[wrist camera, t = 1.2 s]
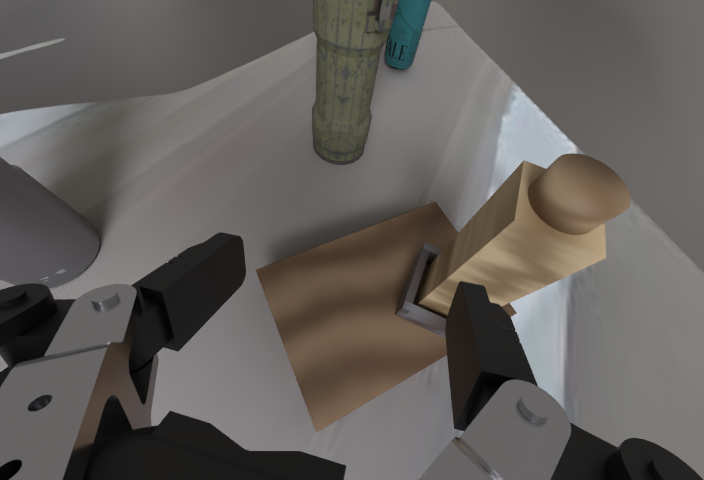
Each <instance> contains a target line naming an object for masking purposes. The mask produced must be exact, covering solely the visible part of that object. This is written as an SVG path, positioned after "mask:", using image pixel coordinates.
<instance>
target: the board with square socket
mask: <svg viewBox="0 0 704 480" xmlns="http://www.w3.org/2000/svg"><path fill="white" fill-rule="evenodd" d="M457 234H458V232H457V231H456V229H455V228H454V227H453V225H452V224H451V223H450V221H449V220H448V218H447V217H446V216H445V214H444V213H443V212H442V210H441V209H440V208H439V206H438V205H437V203H436V202H434V203H432V204H429V205H426V206H424V207H421V208H418V209H416V210H413V211H410V212H408V213H405V214H402V215H400V216H397V217H395V218H392V219H389V220H387V221H384V222H381V223H379V224H376V225H373V226H371V227H368V228H365V229H363V230H360V231H358V232H355V233H352V234H350V235H347V236H344V237H342V238H339V239H336V240H334V241H331V242H328V243H326V244H323V245H321V246H318V247H315V248H313V249H310V250H307V251H305V252H302V253H299V254H297V255H294V256H291V257H289V258H286V259H284V260H281V261H278V262H276V263H273V264H270V265H268V266H265V267H262V268H260V269H257V270H256V272H257V274H258V277H259V280H260V282H261V285H262V288H263V291H264V293H265V296H266V299H267V301H268V304H269V307H270V309H271V312H272V315H273V317H274V320H275V323H276V325H277V328H278V331H279V333H280V336H281V339H282V342H283V344H284V347H285V350H286V352H287V355H288V358H289V360H290V363H291V366H292V368H293V371H294V374H295V376H296V379H297V382H298V384H299V387H300V390H301V393H302V395H303V398H304V401H305V403H306V406H307V409H308V411H309V414H310V417H311V419H312V422H313V425H314V427H315V430H316V432H318V431H320V430H321V429H323V428H325V427H326V426H328V425H330V424H331V423H333V422H335V421H337V420H338V419H340V418H342V417H343V416H345V415H347V414H348V413H350V412H352V411H353V410H355V409H357V408H358V407H360V406H362V405H363V404H365V403H367V402H368V401H370V400H372V399H373V398H375V397H377V396H378V395H380V394H382V393H383V392H385V391H387V390H389V389H390V388H392V387H394V386H395V385H397V384H399V383H400V382H402V381H404V380H405V379H407V378H409V377H410V376H412V375H414V374H415V373H417V372H419V371H420V370H422V369H424V368H425V367H427V366H429V365H430V364H432V363H434V362H435V361H437V360H439V359H441V358H442V357H444V356H446V355H447V347H446V337H445V326H446V319H445V318H443V317H441V316H438V315H436V314H434V313H432V312H430V311H427V310H425V309H423V308H421V307H419V306H416V305H414V302H415V299H416V296H417V293H418V290H419V287H420V284H421V281H422V278H423V275H424V271H425V269H426V268H427V267H428V266H429V265H430V264H431V263H432V262H433V261H434V260H435V258H436V257H437V256H438V255H439V254H440V253H441V252H442V251H443V250H444V248H445V247H446V246H447V245H448V244H449V243H450V242H451V241H452V240H453V238H454V237H455V236H456V235H457ZM502 308H503V309H504V310H505V311H506V312H507V314H508V315H509V316H510V317H511V316H513V315H514V314H516V311H515V310H514V309H513V307H512V306H511V305H510V303H508V304H506V305H504V306H502Z"/></svg>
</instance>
